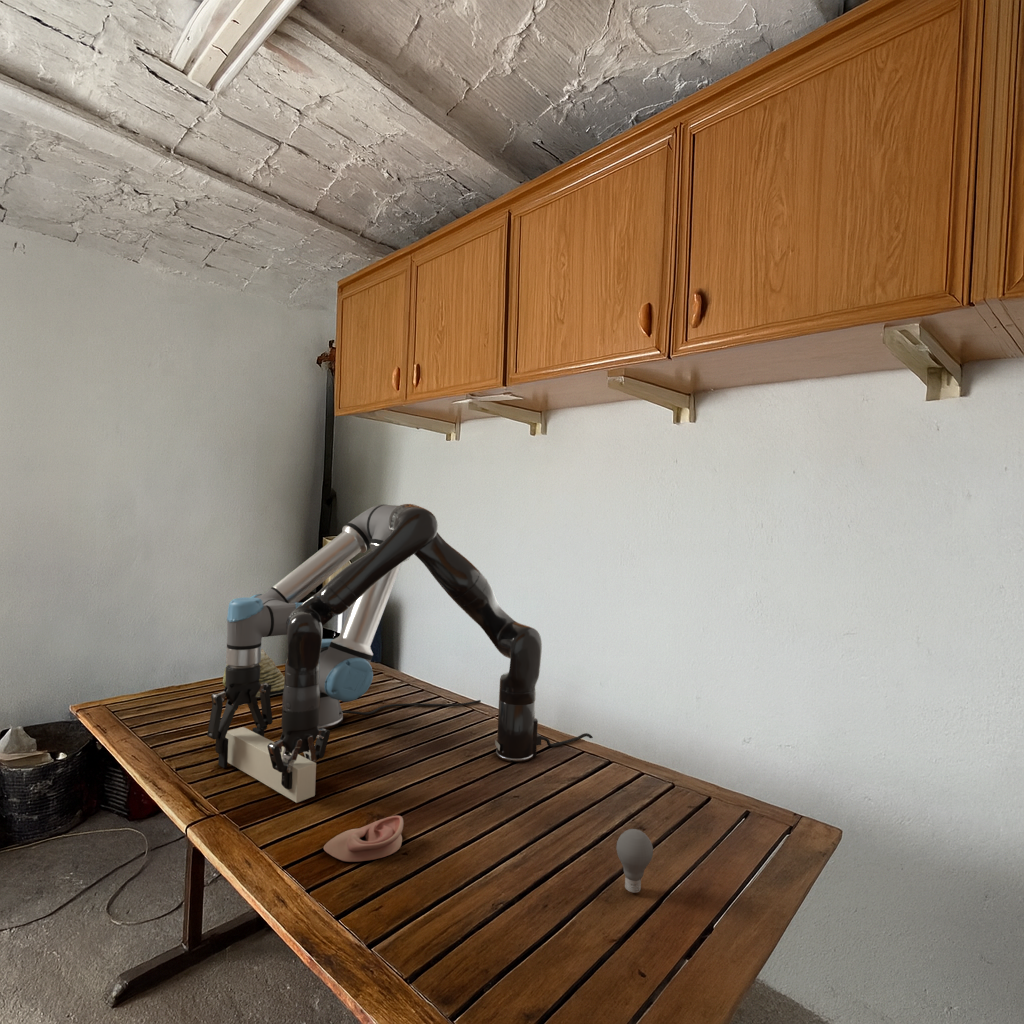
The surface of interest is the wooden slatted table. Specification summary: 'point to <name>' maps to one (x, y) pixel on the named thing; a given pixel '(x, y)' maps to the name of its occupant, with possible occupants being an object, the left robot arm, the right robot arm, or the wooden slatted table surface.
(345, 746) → the wooden slatted table surface
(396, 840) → the anatomical model
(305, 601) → the right robot arm
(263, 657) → the fossil
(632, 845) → the light bulb
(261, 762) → the beam
